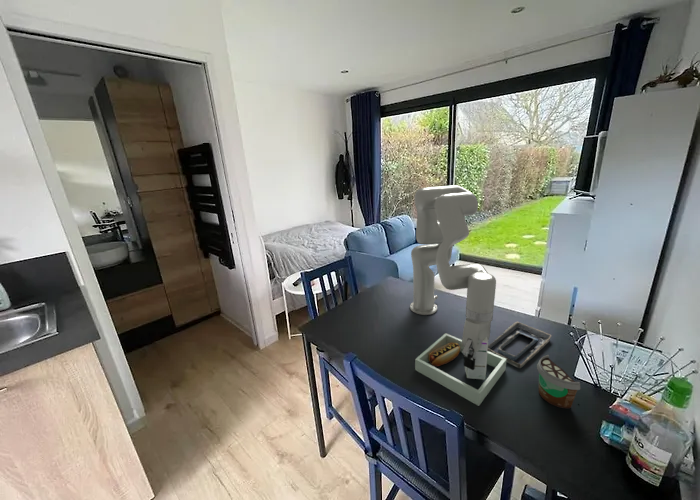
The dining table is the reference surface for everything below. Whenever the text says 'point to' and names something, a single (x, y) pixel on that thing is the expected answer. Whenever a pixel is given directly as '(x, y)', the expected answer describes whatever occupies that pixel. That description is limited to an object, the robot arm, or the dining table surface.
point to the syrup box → (479, 362)
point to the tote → (454, 383)
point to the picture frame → (512, 337)
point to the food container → (556, 384)
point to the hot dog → (444, 354)
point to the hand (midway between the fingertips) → (475, 360)
